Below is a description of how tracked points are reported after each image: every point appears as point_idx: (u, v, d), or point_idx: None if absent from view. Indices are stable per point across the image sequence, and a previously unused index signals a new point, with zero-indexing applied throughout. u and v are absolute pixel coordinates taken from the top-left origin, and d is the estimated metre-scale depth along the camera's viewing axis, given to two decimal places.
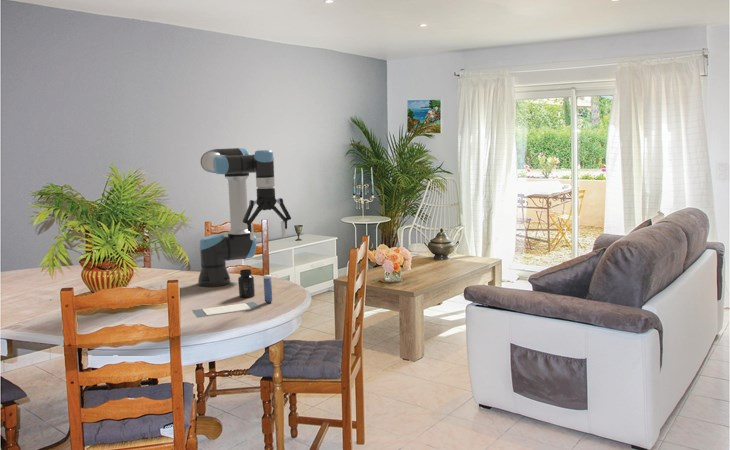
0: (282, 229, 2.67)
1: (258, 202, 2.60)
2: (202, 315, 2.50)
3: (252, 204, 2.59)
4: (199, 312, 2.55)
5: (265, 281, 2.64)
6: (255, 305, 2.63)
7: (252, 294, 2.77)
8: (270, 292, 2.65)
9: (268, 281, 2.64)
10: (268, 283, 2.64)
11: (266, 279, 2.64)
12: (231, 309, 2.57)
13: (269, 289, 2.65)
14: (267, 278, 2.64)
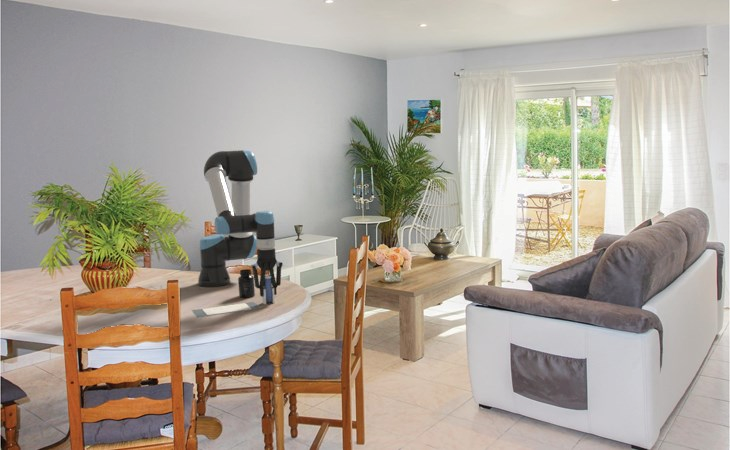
0: None
1: (259, 264, 2.62)
2: (202, 315, 2.50)
3: (255, 269, 2.62)
4: (199, 312, 2.55)
5: (265, 281, 2.64)
6: (255, 305, 2.63)
7: (252, 294, 2.77)
8: (270, 292, 2.65)
9: (269, 281, 2.64)
10: (268, 283, 2.64)
11: (266, 279, 2.64)
12: (231, 309, 2.57)
13: (269, 289, 2.65)
14: (267, 278, 2.64)
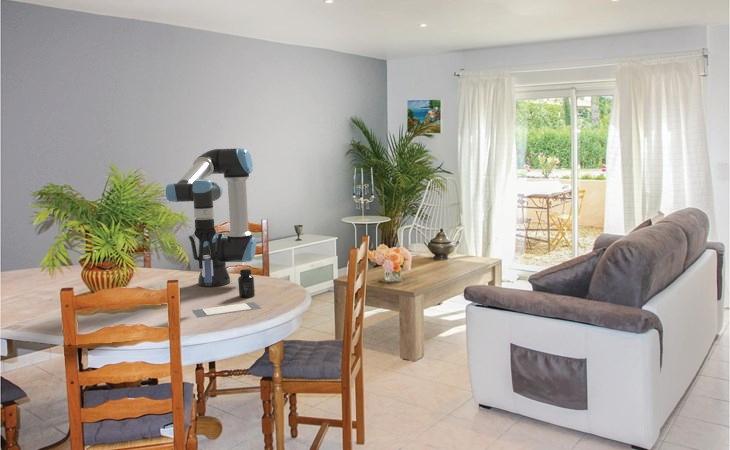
0: None
1: (196, 234, 2.52)
2: (202, 315, 2.50)
3: (192, 240, 2.51)
4: (199, 312, 2.55)
5: (204, 261, 2.54)
6: (255, 305, 2.63)
7: (252, 294, 2.77)
8: (209, 273, 2.55)
9: (208, 261, 2.54)
10: (207, 263, 2.54)
11: (205, 259, 2.54)
12: (231, 309, 2.57)
13: (208, 270, 2.55)
14: (206, 258, 2.54)
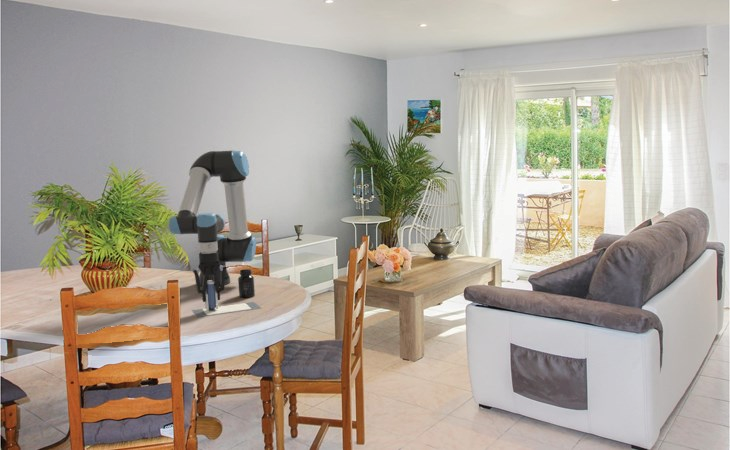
0: (215, 300, 2.57)
1: (201, 268, 2.52)
2: (202, 315, 2.50)
3: (196, 273, 2.51)
4: (199, 312, 2.55)
5: (208, 287, 2.54)
6: (255, 305, 2.63)
7: (252, 294, 2.77)
8: (213, 298, 2.55)
9: (211, 287, 2.54)
10: (211, 289, 2.54)
11: (209, 285, 2.54)
12: (231, 309, 2.57)
13: (212, 295, 2.55)
14: (210, 284, 2.54)
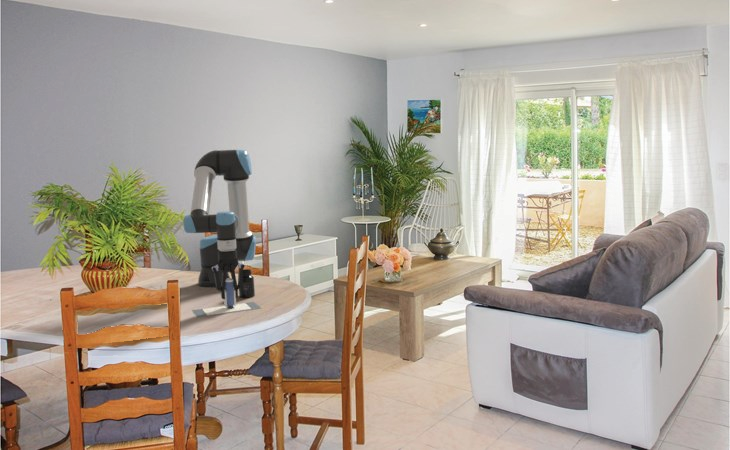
0: None
1: (219, 265, 2.56)
2: (202, 315, 2.50)
3: (215, 271, 2.55)
4: (199, 312, 2.55)
5: (227, 285, 2.57)
6: (255, 305, 2.63)
7: (252, 294, 2.77)
8: (232, 296, 2.58)
9: (231, 285, 2.57)
10: (230, 287, 2.57)
11: (228, 283, 2.57)
12: (231, 309, 2.57)
13: (231, 293, 2.58)
14: (229, 282, 2.57)
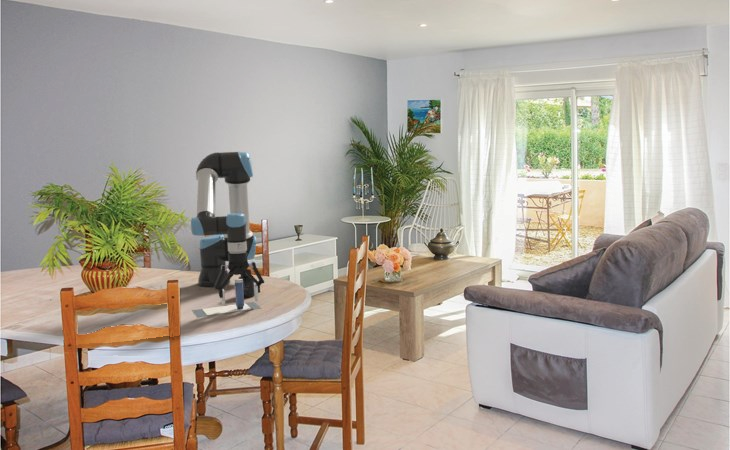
0: (255, 293, 2.60)
1: (230, 267, 2.53)
2: (202, 315, 2.50)
3: (223, 269, 2.52)
4: (199, 312, 2.55)
5: (237, 285, 2.55)
6: (255, 305, 2.63)
7: (252, 294, 2.77)
8: (242, 297, 2.57)
9: (240, 286, 2.56)
10: (240, 287, 2.56)
11: (238, 283, 2.55)
12: (231, 309, 2.57)
13: (241, 294, 2.56)
14: (239, 282, 2.55)
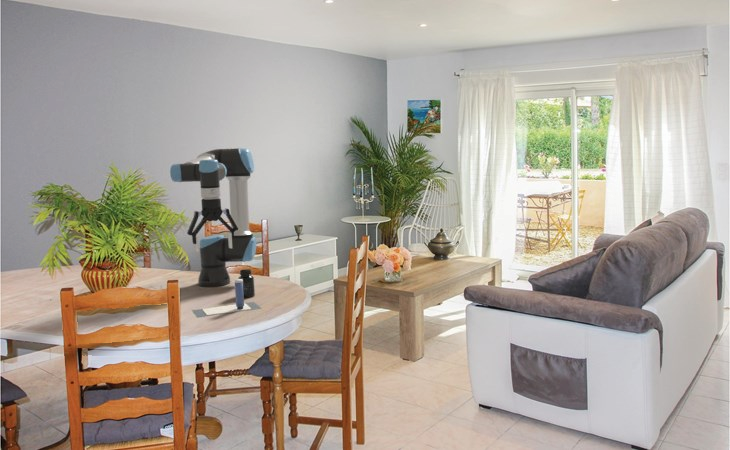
0: (229, 240, 2.60)
1: (203, 213, 2.53)
2: (202, 315, 2.50)
3: (197, 215, 2.51)
4: (199, 312, 2.55)
5: (237, 285, 2.55)
6: (255, 305, 2.63)
7: (252, 294, 2.77)
8: (242, 297, 2.57)
9: (240, 286, 2.56)
10: (240, 287, 2.56)
11: (238, 283, 2.55)
12: (231, 309, 2.57)
13: (241, 294, 2.56)
14: (239, 282, 2.55)
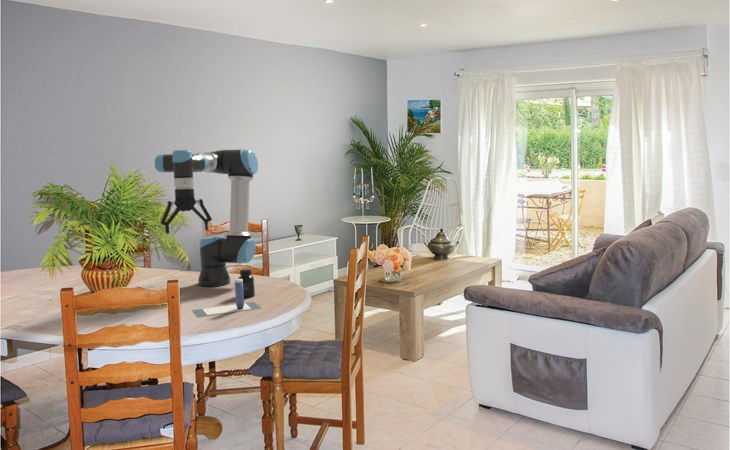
0: (203, 230, 2.62)
1: (176, 203, 2.55)
2: (202, 315, 2.50)
3: (169, 205, 2.54)
4: (199, 312, 2.55)
5: (237, 285, 2.55)
6: (255, 305, 2.63)
7: (252, 294, 2.77)
8: (242, 297, 2.57)
9: (240, 286, 2.56)
10: (240, 287, 2.56)
11: (238, 283, 2.55)
12: (231, 309, 2.57)
13: (241, 294, 2.56)
14: (239, 282, 2.55)
